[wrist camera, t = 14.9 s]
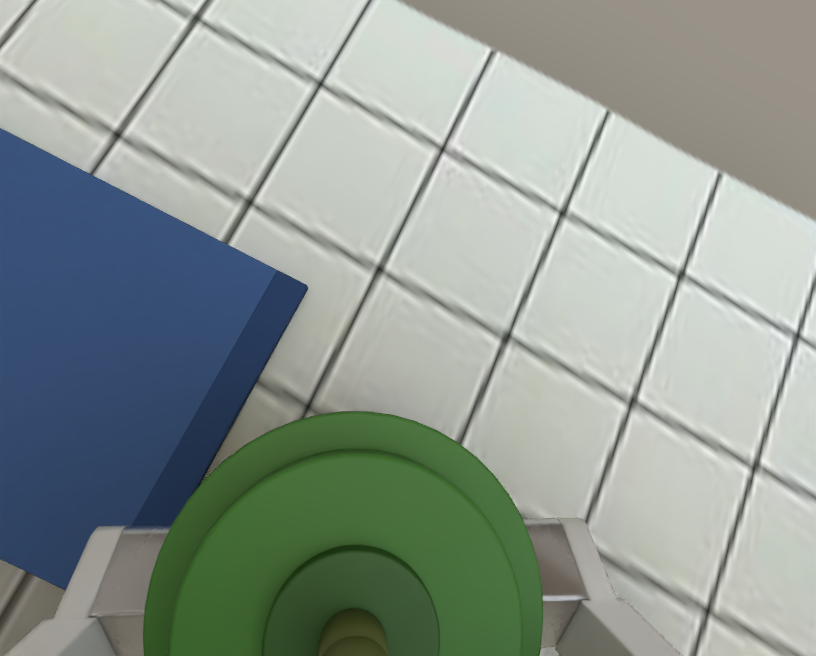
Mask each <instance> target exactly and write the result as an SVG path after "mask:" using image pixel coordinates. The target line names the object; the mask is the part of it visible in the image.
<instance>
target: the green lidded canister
mask: <svg viewBox="0 0 816 656" xmlns="http://www.w3.org/2000/svg"><path fill="white" fill-rule="evenodd" d="M542 629H543V591H542V585H541V578H540V572H539V565H538V562H537V558H536V555H535V551H534V547H533V544H532V540H531V538H530V536H529V533H528V531H527V528H526V526H525V524H524V521H523V519H522V517H521V515H520V513H519V511H518V510H517V508H516V506H515V504H514V503H513V501H512V499H511V497H510V496H509V494H508V493H507V491H506V490H505V489H504V488H503V486H502V485H501V484H500V482H499V481H498V480H497V478H496V477H495V476H494V475H493V473H492V472H491V471H490V470H489V469H488V468H487V467H486V466H485V465H484V464H483V463H482V462H481V461H480V460H479V459H478V458H477V457H475V456H474V455H473V454H472V453H470V452H469V451H468V450H467V449H465V448H464V447H463V446H461V445H460V444H459V443H457V442H456V441H454V440H452V439H451V438H449V437H447V436H446V435H444V434H442V433H441V432H439V431H437V430H435V429H432V428H430V427H428V426H425V425H423V424H421V423H418V422H416V421H413V420H409V419H405V418H402V417H398V416H394V415H390V414H382V413H375V412H362V411H343V412H335V413H327V414H319V415H315V416H311V417H307V418H304V419H300V420H296V421H293V422H290V423H288V424H285V425H283V426H281V427H278V428H276V429H273V430H271V431H269V432H267V433H265V434H263V435H262V436H260V437H258V438H256V439H254V440H253V441H251V442H249V443H247V444H246V445H244V446H243V447H242V448H240V449H239V450H238V451H236V452H235V453H234V454H232V455H231V456H230V457H228V458H227V459H225V460H224V461H223V462H222V463H221V464H220V465H219V466H218V467H217V468H216V469H215V470H214V471H213V472H212V473H211V474H210V475H209V476H208V477H206V478H205V480H204V481H203V482H202V483H201V484H200V486H199V487H198V488H197V489H196V490H195V492H194V493H193V494H192V495H191V497H190V498H189V499H188V500H187V502H186V503H185V505H184V506H183V508H182V510H181V511H180V513H179V514H178V516H177V517H176V519H175V521H174V522H173V524H172V526H171V528H170V530H169V532H168V534H167V536H166V538H165V540H164V542H163V544H162V547H161V549H160V551H159V554H158V557H157V560H156V563H155V566H154V569H153V572H152V575H151V578H150V583H149V588H148V593H147V598H146V603H145V611H144V624H143V650H144V656H539V654H540V649H541V641H542Z"/></svg>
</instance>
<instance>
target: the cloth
mask: <svg viewBox="0 0 816 656" xmlns="http://www.w3.org/2000/svg"><path fill="white" fill-rule="evenodd" d="M307 290H308V287H307V285H305V284H303V283H301V282H300V281H298V280H296V279H294V278H292V277H290V276H288V275H286V274H284V273H282V272H280V271H278V270H276V269H274V268H272V267H270V266H268V265H266V264H264V263H262V262H260V261H258V260H256V259H254V258H252V257H250V256H248V255H247V254H245V253H243V252H241V251H239V250H237V249H235V248H233V247H231V246H229V245H227V244H225V243H223V242H221V241H219V240H217V239H215V238H213V237H211V236H209V235H208V234H206V233H204V232H202V231H200V230H198V229H196V228H194V227H192V226H190V225H188V224H186V223H184V222H182V221H180V220H178V219H176V218H174V217H172V216H170V215H169V214H167V213H165V212H163V211H161V210H159V209H157V208H155V207H153V206H151V205H149V204H147V203H145V202H143V201H141V200H139V199H137V198H135V197H133V196H131V195H130V194H128V193H126V192H124V191H122V190H120V189H118V188H116V187H114V186H112V185H110V184H108V183H106V182H104V181H102V180H100V179H98V178H96V177H94V176H92V175H91V174H89V173H87V172H85V171H83V170H81V169H79V168H77V167H75V166H73V165H71V164H69V163H67V162H65V161H63V160H61V159H59V158H57V157H55V156H53V155H52V154H50V153H48V152H46V151H44V150H42V149H40V148H38V147H36V146H34V145H32V144H30V143H28V142H26V141H24V140H22V139H20V138H18V137H16V136H14V135H13V134H11V133H9V132H7V131H5V130H3V129H1V128H0V559H1V560H3V561H6V562H8V563H10V564H12V565H14V566H16V567H18V568H20V569H22V570H24V571H26V572H28V573H31V574H33V575H35V576H37V577H39V578H41V579H43V580H45V581H47V582H49V583H51V584H53V585H56V586H58V587H60V588H62V589H64V590H66V589H67V587H68V584H69V582H70V580H71V578H72V575H73V573H74V571H75V569H76V567H77V564H78V562H79V560H80V558H81V555H82V553H83V551H84V549H85V547H86V544H87V542H88V540H89V538H90V536H91V535H92V533H93V532H94V531H95V530H96V528H97V527H98V526H172V524H173V522H174V521H175V519H176V517H177V516H178V514H179V513H180V511H181V510H182V508H183V506H184V505H185V503H186V502H187V500H188V499H189V498H190V497H191V495H192V494H193V493H194V492H195V490H196V489H197V488H198V486H199V485H200V483H201V481H202V479H203V477H204V476H205V474H206V472H207V470H208V468H209V466H210V465H211V463H212V461H213V459H214V457H215V456H216V454H217V452H218V450H219V448H220V447H221V445H222V443H223V441H224V439H225V438H226V436H227V434H228V432H229V430H230V429H231V427H232V425H233V423H234V421H235V420H236V418H237V416H238V414H239V412H240V411H241V409H242V407H243V405H244V403H245V402H246V400H247V398H248V396H249V394H250V392H251V391H252V389H253V387H254V385H255V383H256V382H257V380H258V378H259V376H260V374H261V373H262V371H263V369H264V367H265V365H266V364H267V362H268V360H269V358H270V356H271V355H272V353H273V351H274V349H275V347H276V346H277V344H278V342H279V340H280V338H281V337H282V335H283V333H284V331H285V329H286V328H287V326H288V324H289V322H290V320H291V318H292V317H293V315H294V313H295V311H296V309H297V308H298V306H299V304H300V302H301V300H302V299H303V297H304V295H305V293H306V291H307Z"/></svg>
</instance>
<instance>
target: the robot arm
mask: <svg viewBox="0 0 816 656" xmlns="http://www.w3.org/2000/svg"><path fill="white" fill-rule="evenodd" d="M523 521H524V524H525V526H526V528H527V531H528V533H529V536H530V538H531V540H532V544H533V547H534V551H535V555H536V558H537V562H538V565H539V572H540V578H541V585H542V591H543V629H542V641H541V647H556V649H555V650H556V651H557V652H558V654H559V655H560V656H683V655H682V654H681V653H680V652H679V651H678V650H677V649H676V648H674V647H673V646H672V645H671V644H670V643H669V642H668V641H667V640H666V639H665V638H664V637H663V636H662V635H661V634H660V633H659V632H658V631H657V630H656V629H655V628H654V627H653V626H652V625H650V624H649V623H648V622H647V621H646V620H645V619H644V618H643V617H642V616H641V615H640V614H639V613H638V612H637V611H636V610H635V609H634V608H633V607H632V606H631V605H630V604H629V603H628V602H627V601H625V600H624V599H616V596H615V594H614V591H613V589H612V586H611V584H610V581H609V579H608V576H607V574H606V571H605V569H604V566H603V564H602V561H601V559H600V556H599V554H598V551H597V549H596V546H595V544H594V541H593V539H592V536H591V534H590V531H589V529H588V526H587V524H586V523H585V522H584V520H583V519H580V518H558V519H556V518H540V519H523ZM170 528H171V526H98V527H97V528H96V530H95V531H94V532H93V533H92V535H91V536H90V538H89V540H88V542H87V544H86V547H85V549H84V551H83V553H82V555H81V558H80V560H79V562H78V564H77V567H76V569H75V571H74V573H73V575H72V578H71V580H70V582H69V584H68V587H67V589H66V591H65V593H64V595H63V598H62V600H61V602H60V604H59V607H58V609H57V611H56V613H55V616H54V618H53V619H44V620H43V621H41V622H40V623H39V624H38V625H37V626H36V627H35V628H34V629H33V630H31V631H30V632H29V633H28V634H27V635H26V636H25V637H24V638H23V639H21V640H20V641H19V642H18V643H17V644H16V645H15V646H14V647H13V648H11V649H10V650H9V651H8V652H7V653H6V654H5V655H4V656H144V650H143V624H144V611H145V603H146V598H147V593H148V588H149V583H150V578H151V575H152V572H153V569H154V566H155V563H156V560H157V557H158V554H159V551H160V549H161V547H162V544H163V542H164V540H165V538H166V536H167V534H168V532H169V530H170Z"/></svg>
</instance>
